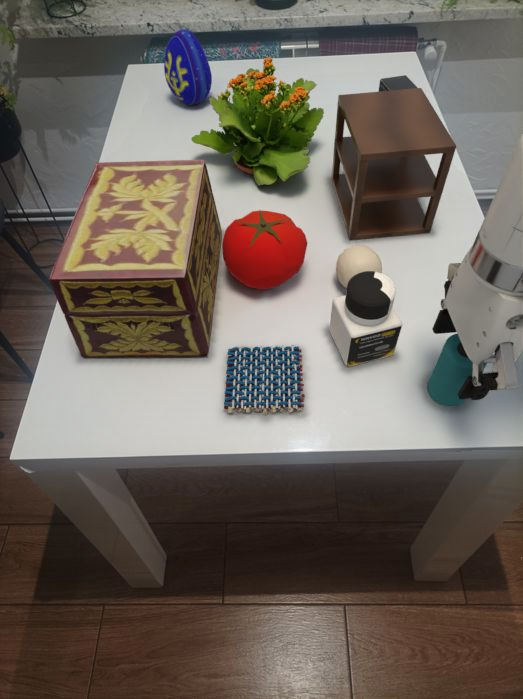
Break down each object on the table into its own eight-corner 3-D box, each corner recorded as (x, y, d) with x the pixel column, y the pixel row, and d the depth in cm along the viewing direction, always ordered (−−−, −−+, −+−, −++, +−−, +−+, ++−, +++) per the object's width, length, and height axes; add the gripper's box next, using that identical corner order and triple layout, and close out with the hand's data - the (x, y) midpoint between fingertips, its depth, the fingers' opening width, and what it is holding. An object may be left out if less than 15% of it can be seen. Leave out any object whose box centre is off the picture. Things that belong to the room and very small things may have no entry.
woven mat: (305, 415, 62) (305, 407, 60) (224, 415, 62) (222, 408, 60) (302, 350, 68) (302, 342, 66) (228, 351, 68) (227, 343, 67)
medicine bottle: (346, 368, 66) (356, 311, 56) (328, 330, 70) (334, 271, 60) (393, 356, 67) (411, 298, 57) (373, 319, 71) (386, 259, 61)
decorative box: (119, 233, 85) (92, 157, 73) (222, 231, 84) (211, 153, 72) (81, 358, 69) (37, 286, 57) (208, 357, 68) (191, 284, 56)
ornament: (163, 102, 113) (148, 31, 101) (191, 87, 117) (180, 17, 105) (194, 116, 109) (183, 43, 97) (223, 100, 113) (215, 28, 100)
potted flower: (179, 187, 93) (160, 95, 79) (215, 124, 106) (204, 37, 92) (305, 201, 88) (309, 107, 74) (325, 134, 102) (332, 44, 88)
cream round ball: (365, 262, 78) (371, 230, 72) (384, 293, 74) (392, 261, 68) (327, 272, 77) (330, 240, 72) (344, 303, 73) (348, 272, 67)
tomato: (222, 301, 74) (214, 250, 66) (227, 248, 81) (220, 196, 73) (307, 300, 74) (310, 248, 65) (305, 246, 81) (307, 193, 72)
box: (411, 144, 98) (423, 91, 89) (385, 148, 97) (394, 96, 89) (396, 125, 102) (406, 73, 94) (371, 129, 102) (379, 77, 93)
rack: (402, 172, 92) (421, 87, 79) (429, 233, 81) (456, 145, 69) (331, 179, 92) (338, 94, 79) (349, 240, 81) (361, 154, 68)
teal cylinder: (459, 371, 65) (482, 329, 57) (473, 404, 61) (498, 364, 54) (422, 375, 64) (439, 333, 57) (433, 408, 61) (453, 368, 54)
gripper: (600, 324, 39) (515, 422, 53) (515, 197, 49) (463, 306, 63) (511, 332, 39) (449, 428, 52) (444, 202, 49) (407, 311, 63)
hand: (457, 362), depth 58 cm, fingers open, 9 cm apart
